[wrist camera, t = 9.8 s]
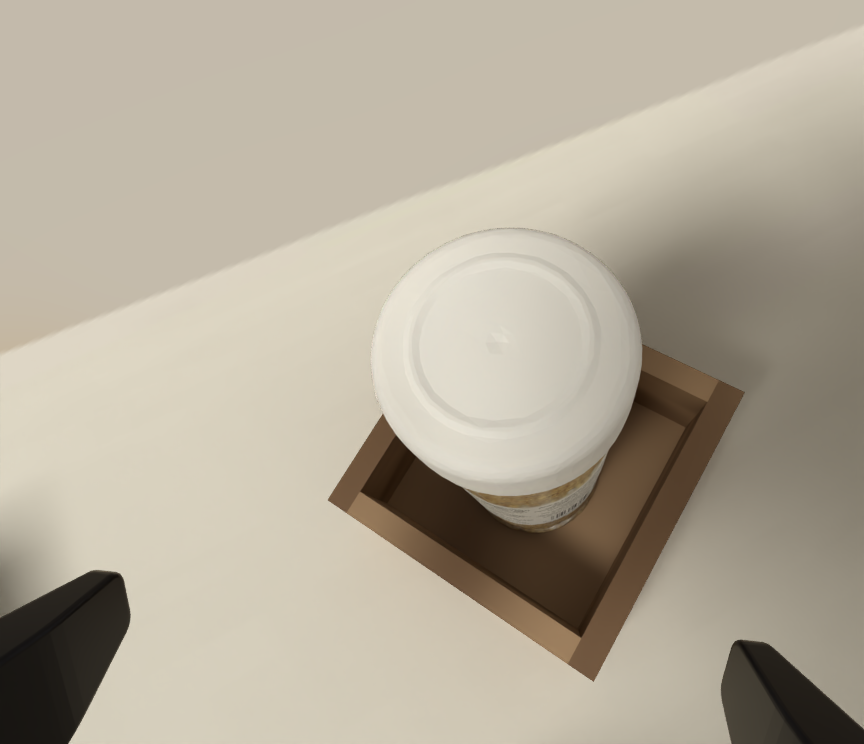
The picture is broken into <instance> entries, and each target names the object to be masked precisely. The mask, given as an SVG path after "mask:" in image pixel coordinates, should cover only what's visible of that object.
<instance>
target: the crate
mask: <svg viewBox="0 0 864 744" xmlns="http://www.w3.org/2000/svg"><path fill="white" fill-rule="evenodd" d="M744 393H745V392H743V391H741V390H739V389H737V388H735V387H732V386H730V385H728V384H726V383H724V382H722V381H720V380H717V379H715V378H713V377H711V376H709V375H707V374H705V373H702V372H700V371H698V370H696V369H694V368H692V367H690V366H688V365H685V364H683V363H681V362H679V361H677V360H675V359H673V358H670V357H668V356H666V355H664V354H662V353H660V352H658V351H655V350H653V349H651V348H649V347H647V346H645V345H643V344H642V366H641V372H640V378H639V382H638V386H637V389H636V393H635V397H634V400H633V404H632V407H631V410H630V413H629V415H628V417H627V420H626V422H625V424H624V426H623V428H622V430H621V432H620V434H619V435H618V437H617V439H616V441H615V442H614V443H613V445H612V446H611V447H610V449H609V450H608V453H607V456H606V458H605V461H604V464H603V467H602V469H601V471H600V473H599V476H598V478H597V481H596V484H595V489H594V492H593V494H592V496H591V498H590V500H589V503H588V504H587V506H586V507H585V509H584V510H583V511H582V512H581V513H580V514H579V515H578V516H577V517H576V518H575V519H574V520H572V521H571V522H569V523H567V524H566V525H565V526H563V527H561V528H559V529H556V530H553V531H548V532H544V533H528V532H523V531H520V530H514V529H511V528H509V527H507V526H505V525H504V524H502V523H500V522H499V521H497V520H496V519H495V518H494V517H493V516H491V514H490V513H489V512H488V511H487V510H486V508H485V507H484V506H483V505H481V504H480V503H479V502H478V501H477V500H476V499H475V498H474V497H473V496H472V495H471V494H469V493H468V492H467V491H466V490H465V489H464V488H463V487H461V486H459V485H456V484H455V483H453V482H451V481H449V480H447V479H445V478H444V477H442V476H440V475H439V474H438V473H436V472H435V471H433V470H432V469H431V468H429V467H428V466H427V465H426V464H424V463H423V462H422V461H421V460H420V459H419V458H418V457H417V456H415V455H414V454H413V453H412V452H411V451H410V450H409V449H408V448H407V447H406V446H405V445H404V444H403V442H402V441H401V440H400V439H399V438H398V437H397V435H396V434H395V432H394V431H393V429H392V428H391V426H390V425H389V423H388V422H387V420H386V418H385V416H384V414H382V416H381V418H380V419H379V421H378V422H377V424H376V425H375V427H374V428H373V430H372V432H371V433H370V435H369V436H368V438H367V439H366V441H365V442H364V444H363V446H362V447H361V449H360V450H359V452H358V453H357V455H356V457H355V458H354V460H353V461H352V463H351V464H350V466H349V467H348V469H347V471H346V472H345V474H344V475H343V477H342V478H341V480H340V481H339V483H338V485H337V486H336V488H335V489H334V491H333V492H332V494H331V495H330V497H329V499H328V501H330V502H331V503H333V504H334V505H336V506H337V507H339V508H340V509H342V510H343V511H344V512H346V513H347V514H349V515H350V516H352V517H353V518H355V519H356V520H358V521H359V522H361V523H362V524H363V525H365V526H366V527H368V528H369V529H371V530H372V531H374V532H375V533H377V534H378V535H380V536H381V537H383V538H384V539H385V540H387V541H388V542H390V543H391V544H393V545H394V546H396V547H397V548H399V549H400V550H402V551H403V552H404V553H406V554H407V555H409V556H410V557H412V558H413V559H415V560H416V561H418V562H419V563H421V564H422V565H424V566H425V567H426V568H428V569H429V570H431V571H432V572H434V573H435V574H437V575H438V576H440V577H441V578H443V579H444V580H445V581H447V582H448V583H450V584H451V585H453V586H454V587H456V588H457V589H459V590H460V591H462V592H463V593H465V594H466V595H467V596H469V597H470V598H472V599H473V600H475V601H476V602H478V603H479V604H481V605H482V606H484V607H485V608H486V609H488V610H489V611H491V612H492V613H494V614H495V615H497V616H498V617H500V618H501V619H503V620H504V621H505V622H507V623H508V624H510V625H511V626H513V627H514V628H516V629H517V630H519V631H520V632H522V633H523V634H525V635H526V636H527V637H529V638H530V639H532V640H533V641H535V642H536V643H538V644H539V645H541V646H542V647H544V648H545V649H546V650H548V651H549V652H551V653H552V654H554V655H555V656H557V657H558V658H560V659H561V660H563V661H564V662H566V663H567V664H568V665H570V666H571V667H573V668H574V669H576V670H577V671H579V672H580V673H582V674H583V675H585V676H586V677H587V678H589V679H590V680H592V681H593V682H594V680H595V678H596V676H597V674H598V672H599V670H600V669H601V667H602V665H603V663H604V661H605V659H606V657H607V655H608V653H609V651H610V649H611V647H612V646H613V644H614V642H615V640H616V638H617V636H618V634H619V632H620V630H621V628H622V626H623V625H624V623H625V621H626V619H627V617H628V615H629V613H630V611H631V609H632V607H633V605H634V603H635V602H636V600H637V598H638V596H639V594H640V592H641V590H642V588H643V586H644V584H645V582H646V580H647V579H648V577H649V575H650V573H651V571H652V569H653V567H654V565H655V563H656V561H657V559H658V558H659V556H660V554H661V552H662V550H663V548H664V546H665V544H666V542H667V540H668V538H669V536H670V535H671V533H672V531H673V529H674V527H675V525H676V523H677V521H678V519H679V517H680V515H681V513H682V512H683V510H684V508H685V506H686V504H687V502H688V500H689V498H690V496H691V494H692V492H693V491H694V489H695V487H696V485H697V483H698V481H699V479H700V477H701V475H702V473H703V471H704V469H705V468H706V466H707V464H708V462H709V460H710V458H711V456H712V454H713V452H714V450H715V448H716V447H717V445H718V443H719V441H720V439H721V437H722V435H723V433H724V431H725V429H726V427H727V425H728V424H729V422H730V420H731V418H732V416H733V414H734V412H735V410H736V408H737V406H738V404H739V402H740V401H741V399H742V397H743V395H744Z"/></svg>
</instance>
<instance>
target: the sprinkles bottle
mask: <svg viewBox="0 0 864 744" xmlns="http://www.w3.org/2000/svg"><path fill="white" fill-rule="evenodd" d="M641 366H642V340H641V333H640V327H639V323H638V319H637V316H636V313H635V310H634V307H633V304H632V302H631V300H630V298H629V296H628V294H627V293H626V291H625V289H624V288H623V286H622V285H621V283H620V282H619V281H618V279H617V278H616V277H615V275H614V274H613V273H612V272H611V271H610V270H609V269H608V268H607V267H606V266H605V265H604V264H603V263H602V262H601V261H600V260H599V259H598V258H596V257H595V256H594V255H593V254H591V253H590V252H588V251H587V250H585V249H584V248H582V247H580V246H579V245H577V244H575V243H573V242H572V241H570V240H567V239H565V238H562V237H560V236H557V235H555V234H551V233H547V232H542V231H537V230H532V229H525V228H497V229H489V230H484V231H479V232H475V233H471V234H468V235H464V236H461V237H459V238H457V239H454V240H452V241H450V242H447V243H445V244H444V245H442V246H440V247H438V248H437V249H435V250H433V251H432V252H430V253H428V254H427V255H426V256H425V257H423V258H422V259H421V260H420V261H418V262H417V263H416V264H415V265H413V266H412V267H411V268H410V269H409V271H408V272H407V273H406V274H405V275H404V276H403V277H402V278H401V279H400V281H399V282H398V283H397V285H396V286H395V287H394V289H393V290H392V292H391V293H390V295H389V296H388V298H387V300H386V302H385V303H384V306H383V308H382V310H381V313H380V315H379V318H378V320H377V323H376V327H375V330H374V334H373V339H372V346H371V373H372V381H373V386H374V391H375V395H376V398H377V400H378V403H379V406H380V408H381V410H382V412H383V414H384V416H385V418H386V420H387V422H388V423H389V425H390V426H391V428H392V429H393V431H394V432H395V434H396V435H397V437H398V438H399V439H400V440H401V441H402V442H403V444H404V445H405V446H406V447H407V448H408V449H409V450H410V451H411V452H412V453H413V454H414V455H415V456H417V457H418V458H419V459H420V460H421V461H422V462H423V463H424V464H426V465H427V466H428V467H429V468H431V469H432V470H433V471H435V472H436V473H438V474H439V475H440V476H442V477H444V478H445V479H447V480H449V481H451V482H453V483H455V484H456V485H459V486H461V487H463V488H464V489H465V490H466V491H467V492H468V493H469V494H471V495H472V496H473V497H474V498H475V499H476V500H477V501H478V502H479V503H480V504H481V505H483V506H484V507H485V508H486V510H487V511H488V512H489V513H490V514H491V516H493V517H494V518H495V519H496V520H497V521H499V522H500V523H502V524H504V525H505V526H507V527H509V528H511V529H514V530H520V531H523V532H528V533H544V532H548V531H553V530H556V529H559V528H561V527H563V526H565V525H566V524H567V523H569V522H571V521H572V520H574V519H575V518H576V517H577V516H578V515H579V514H580V513H581V512H582V511H583V510H584V509H585V507H586V506H587V504H588V503H589V500H590V498H591V496H592V494H593V492H594V489H595V484H596V481H597V478H598V476H599V473H600V471H601V469H602V467H603V464H604V461H605V458H606V456H607V453H608V450H609V449H610V447H611V446H612V445H613V443H614V442H615V441H616V439H617V437H618V435H619V434H620V432H621V430H622V428H623V426H624V424H625V422H626V420H627V417H628V415H629V413H630V410H631V407H632V404H633V400H634V397H635V393H636V389H637V386H638V382H639V378H640V372H641Z"/></svg>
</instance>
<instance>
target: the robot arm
mask: <svg viewBox="0 0 864 744" xmlns="http://www.w3.org/2000/svg"><path fill="white" fill-rule="evenodd" d="M130 615H131V614H130V608H129V603H128V598H127V593H126V588H125V583H124V579H123V577H122V576H121V575H120V573H117V572H111V571H102V570H93V571H90V572H88V573H86V574H84V575H82V576H80V577H78V578H76V579H74V580H72V581H70V582H68V583H67V584H65V585H63V586H61V587H59V588H57V589H55V590H53V591H51V592H49V593H47V594H45V595H43V596H41V597H39V598H38V599H36V600H34V601H32V602H30V603H28V604H26V605H24V606H22V607H20V608H18V609H16V610H14V611H12V612H11V613H9V614H7V615H5V616H3V617H1V618H0V744H68V743H69V742H70V740H71V738H72V737H73V735H74V733H75V732H76V730H77V728H78V726H79V724H80V723H81V721H82V719H83V717H84V715H85V713H86V711H87V709H88V707H89V705H90V703H91V702H92V700H93V698H94V696H95V694H96V692H97V690H98V688H99V686H100V684H101V682H102V680H103V678H104V676H105V674H106V672H107V670H108V668H109V666H110V664H111V662H112V660H113V658H114V656H115V654H116V652H117V650H118V648H119V646H120V644H121V642H122V640H123V638H124V636H125V634H126V632H127V630H128V627H129V624H130ZM721 697H722V703H723V707H724V712H725V716H726V721H727V725H728V730H729V734H730V739H731V743H732V744H864V729H863V728H862V727H861V726H860V725H859V724H857V723H856V722H855V721H854V720H853V719H852V718H851V717H850V716H849V715H847V714H846V713H845V712H844V711H843V710H842V709H841V708H840V707H839V706H837V705H836V704H835V703H834V702H833V701H832V700H831V699H830V698H829V697H827V696H826V695H825V694H824V693H823V692H822V691H821V690H820V689H819V688H817V687H816V686H815V685H814V684H813V683H812V682H811V681H810V680H809V679H807V678H806V677H805V676H804V675H803V674H802V673H801V672H800V671H798V670H797V669H796V668H795V667H794V666H793V665H792V664H791V663H790V662H788V661H787V660H786V659H785V658H784V657H783V656H782V655H781V654H780V653H778V652H777V651H776V650H775V649H774V648H773V647H772V646H770V645H769V644H767V643H764V642H757V641H748V640H737V641H735V642H734V643H733V645H732V647H731V651H730V654H729V658H728V661H727V665H726V668H725V672H724V675H723V679H722V683H721Z"/></svg>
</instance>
